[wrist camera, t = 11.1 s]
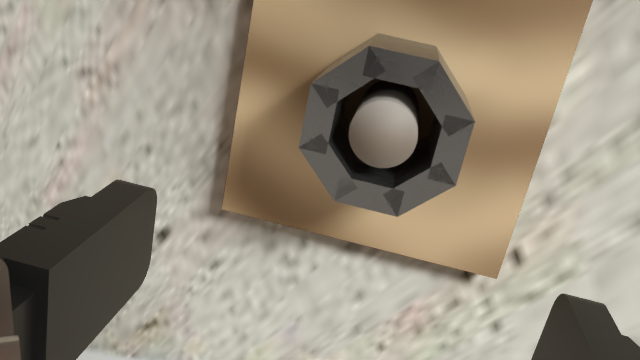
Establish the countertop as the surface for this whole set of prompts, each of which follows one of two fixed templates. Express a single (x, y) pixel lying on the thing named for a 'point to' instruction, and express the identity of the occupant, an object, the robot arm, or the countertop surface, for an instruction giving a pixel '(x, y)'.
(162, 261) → the countertop surface
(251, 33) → the shaft stand
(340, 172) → the ring
